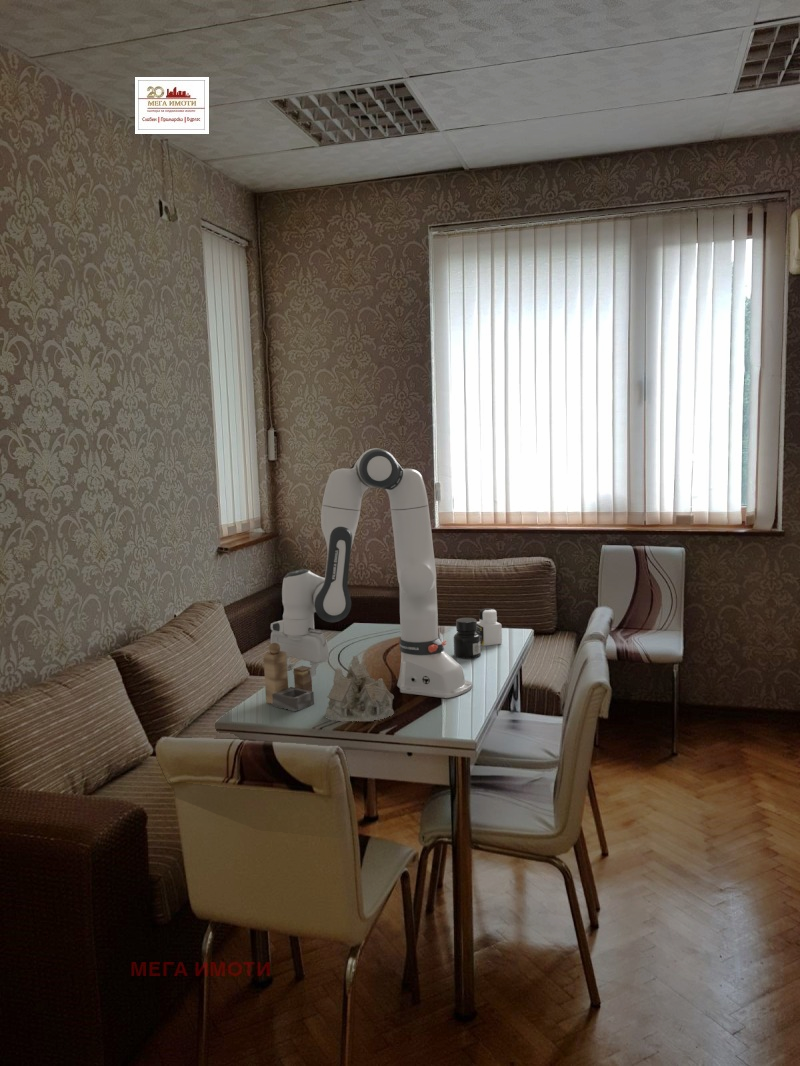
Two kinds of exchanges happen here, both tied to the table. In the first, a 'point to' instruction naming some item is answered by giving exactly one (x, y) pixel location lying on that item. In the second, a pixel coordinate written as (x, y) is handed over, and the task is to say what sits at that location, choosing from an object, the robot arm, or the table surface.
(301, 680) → the small wooden block
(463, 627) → the ink bottle
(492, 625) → the medicine bottle
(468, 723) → the table surface
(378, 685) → the ceramic cottage
